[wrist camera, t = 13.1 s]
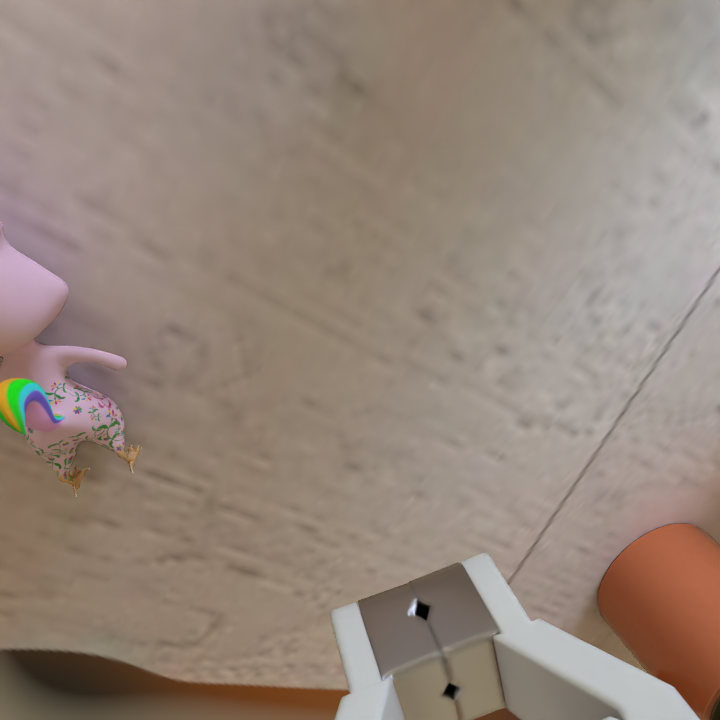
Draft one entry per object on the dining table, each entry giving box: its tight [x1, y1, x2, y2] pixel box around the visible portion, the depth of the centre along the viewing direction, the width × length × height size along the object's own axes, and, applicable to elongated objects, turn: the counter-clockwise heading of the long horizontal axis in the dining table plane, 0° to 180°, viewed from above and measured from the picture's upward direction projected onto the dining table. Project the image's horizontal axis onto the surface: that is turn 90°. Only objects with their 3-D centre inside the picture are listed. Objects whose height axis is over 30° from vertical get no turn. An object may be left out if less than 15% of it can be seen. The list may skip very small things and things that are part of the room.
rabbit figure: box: [0, 220, 142, 497], centre depth 21 cm, size 6×6×15 cm
